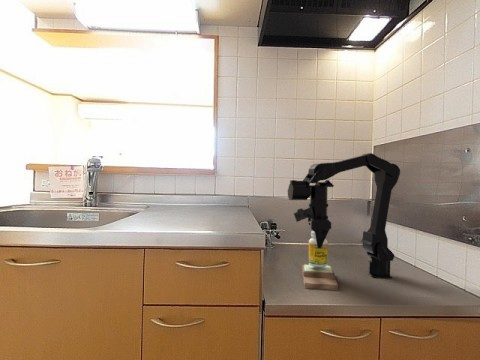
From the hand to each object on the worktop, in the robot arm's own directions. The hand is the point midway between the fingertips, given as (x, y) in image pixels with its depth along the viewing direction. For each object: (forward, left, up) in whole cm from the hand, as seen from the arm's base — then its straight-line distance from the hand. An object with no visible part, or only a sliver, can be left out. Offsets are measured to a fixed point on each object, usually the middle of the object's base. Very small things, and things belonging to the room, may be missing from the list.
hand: (318, 245), depth 114 cm
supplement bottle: (0, 0, -7) cm, 7 cm away
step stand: (0, +4, -11) cm, 11 cm away
